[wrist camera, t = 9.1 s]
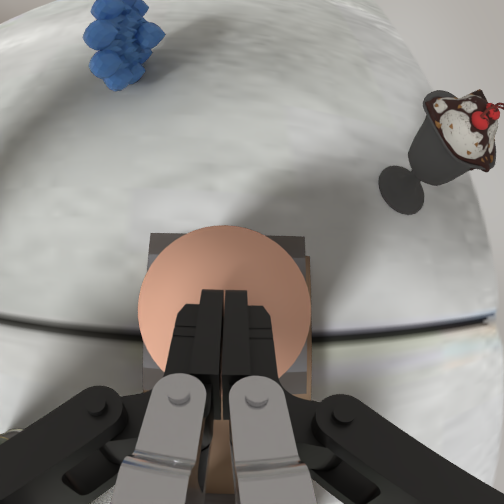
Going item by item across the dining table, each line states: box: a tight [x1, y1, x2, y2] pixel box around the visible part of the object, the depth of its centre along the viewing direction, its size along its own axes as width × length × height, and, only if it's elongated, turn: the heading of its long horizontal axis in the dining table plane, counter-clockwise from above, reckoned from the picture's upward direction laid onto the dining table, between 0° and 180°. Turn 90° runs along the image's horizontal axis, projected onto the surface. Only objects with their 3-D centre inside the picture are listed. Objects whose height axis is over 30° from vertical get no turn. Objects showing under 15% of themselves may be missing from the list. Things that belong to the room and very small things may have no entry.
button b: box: [138, 225, 311, 378], centre depth 15 cm, size 6×6×8 cm
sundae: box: [379, 89, 504, 215], centre depth 18 cm, size 7×7×15 cm
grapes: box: [83, 0, 166, 91], centre depth 22 cm, size 12×7×12 cm, turn 176°
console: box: [143, 233, 312, 504], centre depth 15 cm, size 25×11×9 cm, turn 0°
